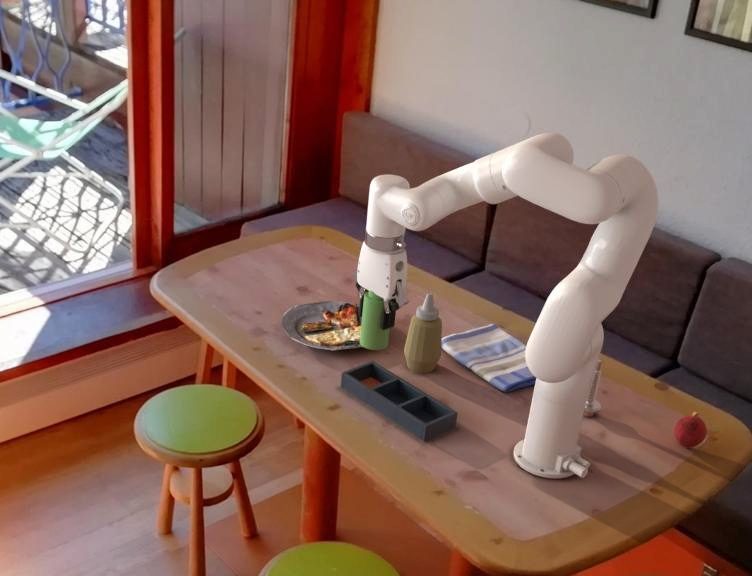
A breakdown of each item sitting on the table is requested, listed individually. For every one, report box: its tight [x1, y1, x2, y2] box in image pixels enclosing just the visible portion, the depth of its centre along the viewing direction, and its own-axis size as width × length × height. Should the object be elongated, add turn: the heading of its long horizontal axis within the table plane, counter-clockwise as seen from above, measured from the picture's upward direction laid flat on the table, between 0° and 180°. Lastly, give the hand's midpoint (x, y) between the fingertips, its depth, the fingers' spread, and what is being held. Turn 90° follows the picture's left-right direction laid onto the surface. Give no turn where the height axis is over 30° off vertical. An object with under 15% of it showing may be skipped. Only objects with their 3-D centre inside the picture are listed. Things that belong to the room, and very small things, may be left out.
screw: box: [583, 358, 602, 418], centre depth 213 cm, size 13×5×5 cm
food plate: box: [280, 300, 364, 352], centre depth 244 cm, size 25×23×4 cm
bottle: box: [360, 290, 392, 351], centre depth 212 cm, size 6×6×17 cm
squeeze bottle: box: [403, 292, 443, 374], centre depth 227 cm, size 8×8×18 cm
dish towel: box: [441, 323, 536, 393], centre depth 234 cm, size 17×24×3 cm
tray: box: [340, 360, 459, 442], centre depth 216 cm, size 25×9×4 cm, turn 37°
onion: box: [673, 411, 707, 449], centre depth 205 cm, size 6×6×8 cm
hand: (376, 320), depth 214 cm, fingers closed on bottle, 5 cm apart
